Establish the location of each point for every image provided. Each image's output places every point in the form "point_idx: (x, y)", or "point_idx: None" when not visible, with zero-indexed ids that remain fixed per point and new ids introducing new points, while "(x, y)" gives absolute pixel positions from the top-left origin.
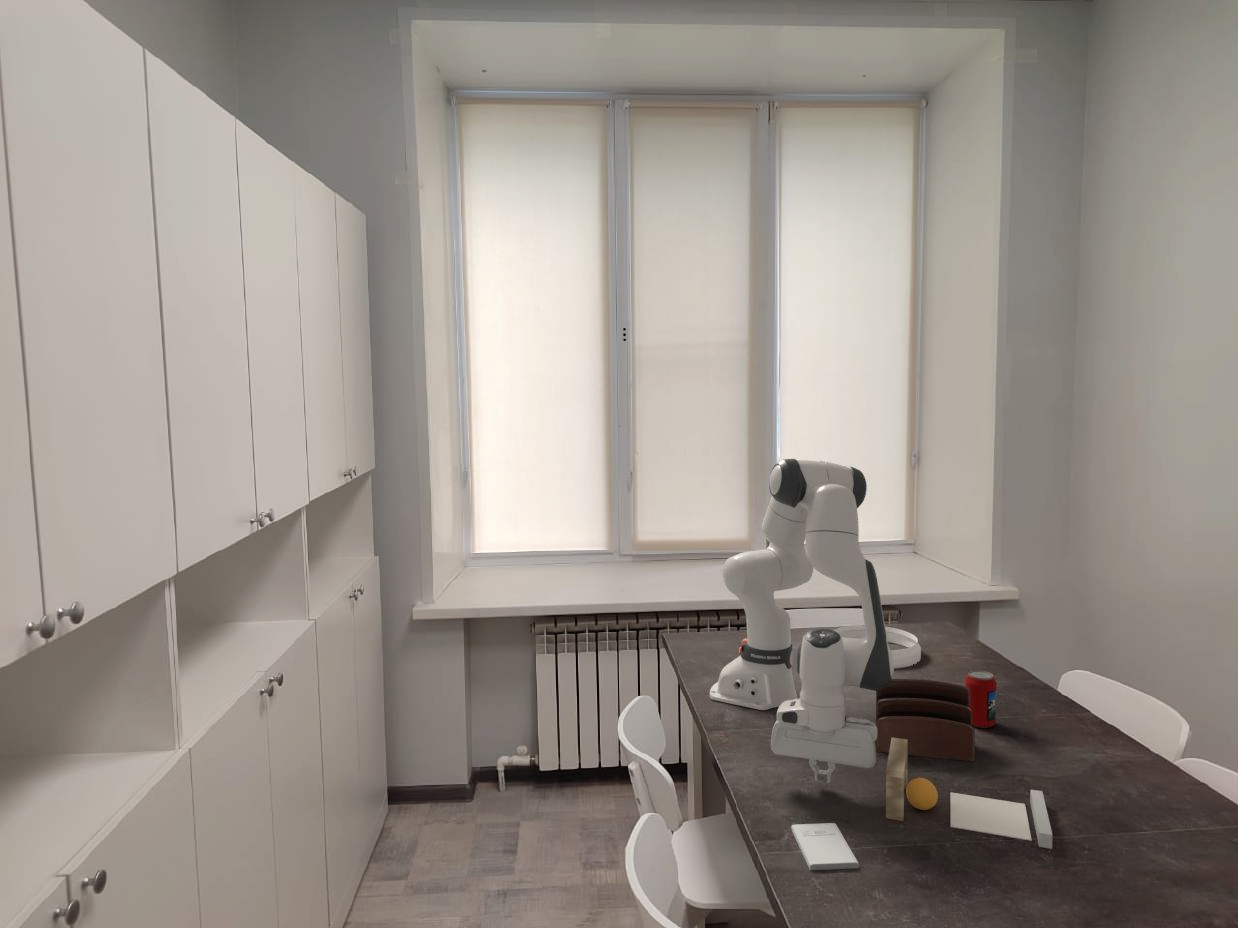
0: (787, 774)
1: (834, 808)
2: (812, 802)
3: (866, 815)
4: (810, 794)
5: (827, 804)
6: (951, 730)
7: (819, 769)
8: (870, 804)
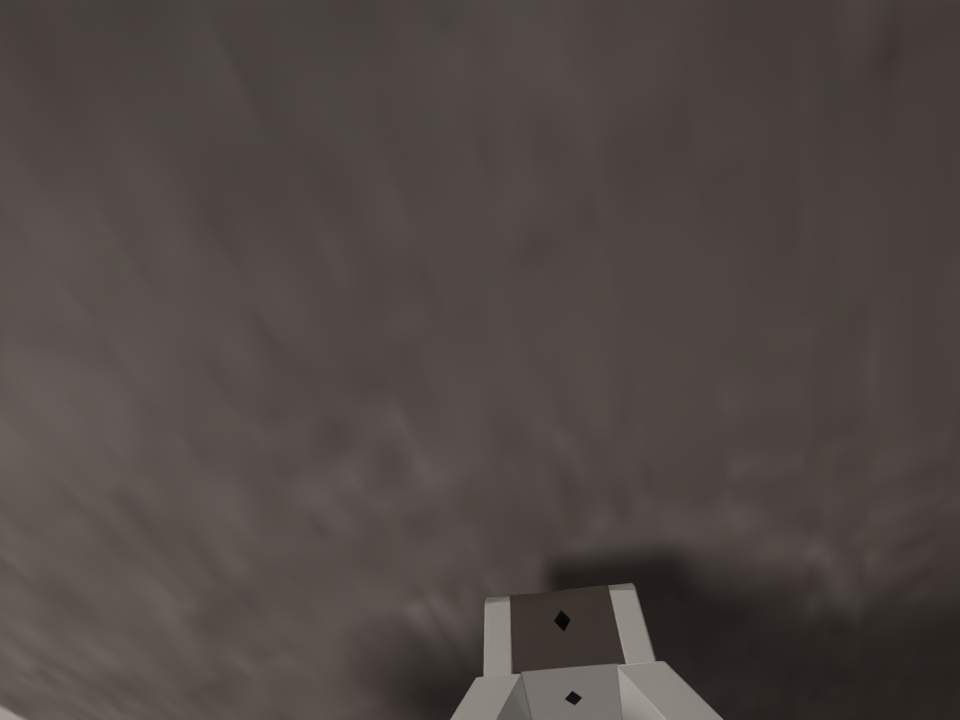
0: (184, 471)
1: None
2: None
3: (907, 703)
4: None
5: None
6: None
7: (523, 669)
8: (956, 597)
